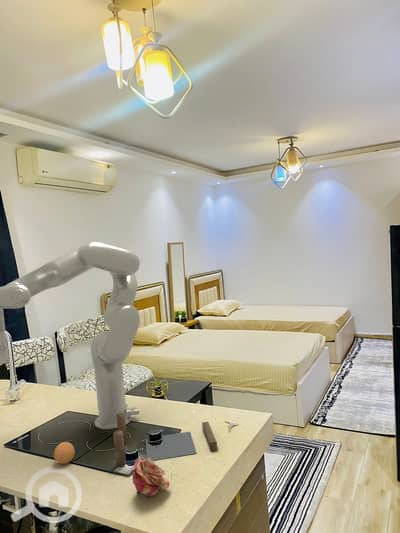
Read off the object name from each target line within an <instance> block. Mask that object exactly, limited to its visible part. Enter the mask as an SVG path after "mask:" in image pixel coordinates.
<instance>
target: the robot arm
mask: <svg viewBox="0 0 400 533" xmlns="http://www.w3.org/2000/svg"><path fill="white" fill-rule="evenodd" d="M140 262H141V261H140V258H139V257H138V255H137V254H136V253H135V252H134V251H131V250H128V249H124V248H120V247H117V246H113V245H109V244H106V243H102V242H98V241H91V242H87V243H84V244H81V245H80V246H77V247H75V248H73V249H72V250H70V251H68V252H65V253H64V254H62V255H60V256H58V257H56V258H54V259H52V260H50V261H48V262H46V263H45V264H43V265H42V266H39V267H38V268H35V269H34V270H32V271H30V272H29V273H26V274H24V275H22V276H20V277H19V278H18V277H17V278H16V279H14V280H13V281H11V282H9V283H7V284H6V285H4V286H0V380H1V381H3V380H7V379H9V373H8V361H9V359H10V355H9V354H10V353H9V346H8V340H7V335H6V325H5V317H4V316H5V315H4V309H21V308H24V307H25V306H27V305H28V304H29V302H30V300H31V298H32V297H34V296H36V295H38V294H40V293H42V292H45V291H46V290H49V289H53V288H57V287H60V286H62V285H65V284H67V283H68V282H70V281H72V280H74V279H75V278H76V277H79V276H81V275H82V274H84V273H86V272H88V271H90V270H91V269H95V268H96V269H99V270H103V271H106V272H108V273H109V274H110V275H111V277H112V280H113V281H112V282H113V283H112V284H113V286H112V289H111V294H110V297H109V299H108V302H107V304H106V308H105V310H104V313H103V322H104V324H105V325H106V326H107V327H108V330H107V331H102V332H98V333H97V334H96V335H94V337H93V338H92V340H91V343H90V353H91V359H92V362H93V369H94V378H95V388H96V389H95V390H96V400H97V401H96V402H97V409H98V417H97V418H96V419H95V421H94V426H95V427H96V428H97V429H100V430H113V429H117V420H116V415H117V414H119V413H124V414H125V423H126V425H127V424H129V423H130V422H131V420H132V416H135V415H140V414H141V413H140V408H137V407H136V406H134V407H128V403H127V402H126V394H125V392H126V391H125V381H124V370H123V364H122V363H124V362H125V361H126V359H128V357H129V355H130V353H131V350H132V347H133V345H134V341H135V338H136V336H137V332H138V329H139V326H140V318H141V317H140V313H139V310H138V309H137V307H135V306H134V303H135V300H136V297H137V296H136V295H137V291H138V281H137V277H136V273H137V272H138V270H139V269H140V265H141V264H140Z"/></svg>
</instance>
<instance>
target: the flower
mask: <svg viewBox="0 0 400 533" xmlns="http://www.w3.org/2000/svg"><path fill="white" fill-rule="evenodd" d="M130 470H131V471H130V472H131V476H132V483H133V485H134V487H135V489H136V490H135V491H136V492H135V493H136V496H139V497H141V496H142V495H143V494H144V495H145V497H147V498H150V499H153V500H155V499H154V497H153V496H155V495H157V494H160V493H161V492H160V490H166V489H168V488H170V486H171V485H170V484H171V483H170V481H169V480H167V479H166V478H165V477H164V476H165V475H166V471H165V470H163V468H162V467H160V466H159V465H158V464H156V463H155V461H154V460H153V461H152V460H151V459H150V458H149V459H147V457H145V458H143V457H141V458H136V459H135V461H134V464H133V467H132V468H130ZM155 501H156V500H155Z"/></svg>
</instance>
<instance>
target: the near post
mask: <svg viewBox="0 0 400 533" xmlns="http://www.w3.org/2000/svg"><path fill="white" fill-rule="evenodd" d="M113 443H114V454H115V464H116V465H115V466H116V468H124V467H125V466H126V465H127V463H126V462H127V461H126V460H127V459H126V450H125V445H124V437H123V431H116V430H115V431H114V432H113ZM123 466H124V467H123Z"/></svg>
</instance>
